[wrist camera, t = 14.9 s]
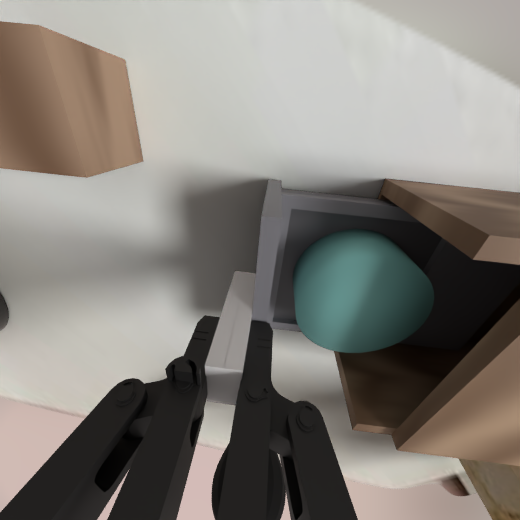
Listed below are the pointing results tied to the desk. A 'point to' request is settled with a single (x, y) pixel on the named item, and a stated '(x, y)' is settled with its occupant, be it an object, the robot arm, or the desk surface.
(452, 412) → the box
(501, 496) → the tan piece
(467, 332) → the tray
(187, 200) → the desk surface
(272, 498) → the light bulb
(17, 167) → the block
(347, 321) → the teal rounded puck
